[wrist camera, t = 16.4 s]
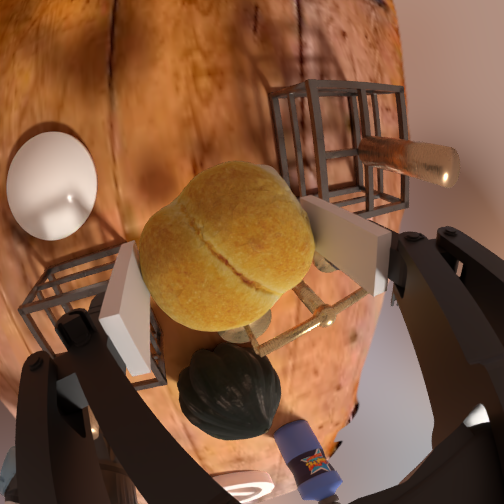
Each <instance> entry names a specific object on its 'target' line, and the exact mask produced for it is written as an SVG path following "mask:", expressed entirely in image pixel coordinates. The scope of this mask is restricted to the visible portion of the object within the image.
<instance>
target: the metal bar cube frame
mask: <svg viewBox="0 0 504 504" xmlns="http://www.w3.org/2000/svg"><path fill="white" fill-rule="evenodd" d="M124 243H127V242H124ZM124 243H121V244H124ZM121 244H119V245H116V246H113V247H109V248H106V249H103V250H100V251H96V252H93V253H90V254H87V255H84V256H81V257H78V258H75V259H72V260H69V261H66V262H63V263H60V264H57V265H54V266H51V267H47V268H46V269H45V270H44V273H43V274H42V276H41V277H40V278H39V280H38V281H37V283H36V284H35V286H34V287H33V289H32V290H31V291H30V293H29V294H28V296H27V298H26V299H25V301H24V302H23V304H22V305H20V306H19V308H18V312H19V313H20V315H21V316H22V318H23V320H24V321H25V323H26V325H27V326H28V328H29V330H30V331H31V333H32V334H33V336H34V338H35V339H36V341H37V342H38V344H39V345H40V347H41V348H42V350H43V351H46V352H47V353H48V354H49V355H50V356H51V358H52V359H54V358H56V357H58V356H60V355H62V354H64V353H66V352H64V353H59V354H55V353H54V352H53V350H52V349H51V347H50V346H49V344H48V343H47V341H46V340H45V338H44V337H43V335H42V333H41V332H40V330H39V329H38V327H37V325H36V324H35V322H34V320H33V319H32V317H31V315H30V313H32V312H36V311H40V310H43V309H44V310H45V311H46V313H47V315H48V317H49V318H50V320H51V322H52V324H53V325H54V327H55V324H56V323H57V320H56V318H55V317H54V315H53V313H52V311H51V309H50V307H54V306H57V305H62V307H63V309H64V311H65V313H67V312H69V311H71V310H73V308H72V306H71V305H70V303H69V302H72V301H75V300H79V299H82V298H86V297H90V296H93V295H97V294H98V293H101V292H105V291H106V290H107V286H108V283H109V280H110V279H109V280H106V281H103V282H100V283H96V284H93V285H89V286H86V287H82V288H79V289H76V290H72V291H69V292H65V293H62V291H61V289H60V286H59V284H63V283H66V282H69V281H72V280H76V279H79V278H82V277H85V276H89V275H92V274H95V273H99V272H102V271H105V270H109V269H112V268H113V267H114V264H115V261H113V262H110V263H106V264H103V265H100V266H96V267H93V268H90V269H87V270H83V271H80V272H77V273H74V274H71V275H67V276H64V277H61V278H58V279H56V278H55V276H54V274H53V273H56V272H59V271H62V270H65V269H68V268H71V267H74V266H77V265H81V264H84V263H87V262H90V261H93V260H97V259H100V258H103V257H106V256H110V255H113V254H116V253H119V250H120V247H121ZM47 278H48V279H49V282H46V283H45V281H46V280H47ZM50 287H52V288H53V290H54V292H55V294H56V295H55V296H52V297H49V298H44V296H43V294H42V292H41V290H43V289H46V288H50ZM36 295H37V296H38V298H39V300H38V301H35V302H32V301H33V300H34V298H35V297H36ZM150 321H151V324H152V326H153V328H154V330H155V331H151V329H150V341H151V343H152V345H153V347H154V349H155V350H156V352H157V353H155V354H152V353H151V351H150V363H151V370H152V371H153V373H154V375H155V376H156V378H154V379H149V380H144V381H140V382H135V383H131V384H132V386H133V387H134V388H135V390H136V391H138V390H143V389H148V388H153V387H157V386H163V385H167V379H166V374H165V363H164V350H163V332H162V330H161V328H160V326H159V324H158V322H157V319H156V317H155V315H154V313H153V310H152V308H151V305H150ZM155 338H157V341H156V339H155ZM155 359H158V364H157V362H156V361H155ZM88 411H89V417H90V423H91V429H92V434H93V439H94V440H95V439H97V438H98V436H99V425H98V423H97V421H96V419H95V417H94V415H93V413H92V410H91V408H90V406H89V405H88Z"/></svg>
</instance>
